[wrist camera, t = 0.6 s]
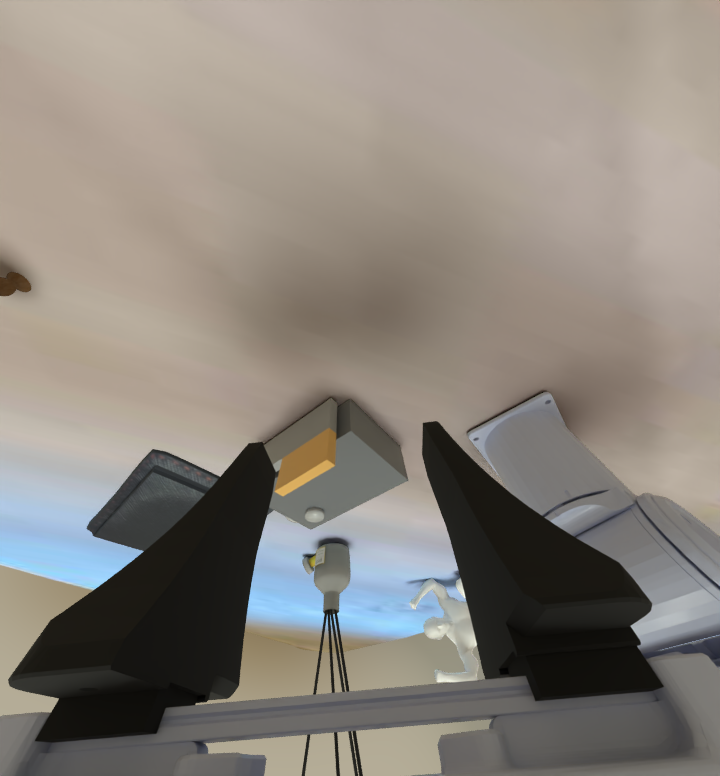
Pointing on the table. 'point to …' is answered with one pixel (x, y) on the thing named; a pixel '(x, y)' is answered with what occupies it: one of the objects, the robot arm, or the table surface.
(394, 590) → the table surface
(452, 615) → the person figurine
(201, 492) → the wallet
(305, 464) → the side hatch
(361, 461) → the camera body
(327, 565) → the reed diffuser
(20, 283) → the place setting
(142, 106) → the table surface
